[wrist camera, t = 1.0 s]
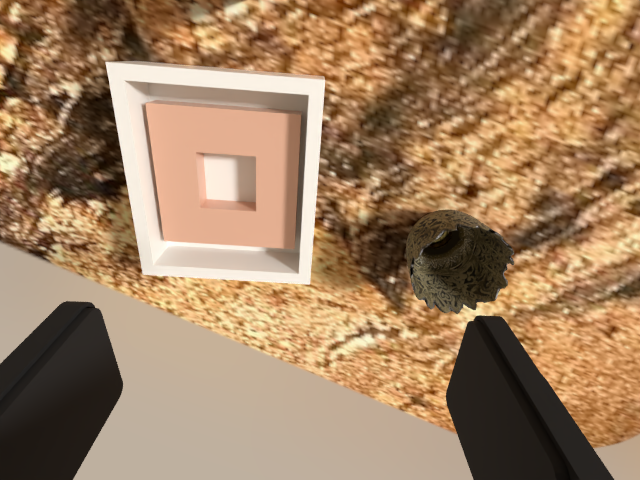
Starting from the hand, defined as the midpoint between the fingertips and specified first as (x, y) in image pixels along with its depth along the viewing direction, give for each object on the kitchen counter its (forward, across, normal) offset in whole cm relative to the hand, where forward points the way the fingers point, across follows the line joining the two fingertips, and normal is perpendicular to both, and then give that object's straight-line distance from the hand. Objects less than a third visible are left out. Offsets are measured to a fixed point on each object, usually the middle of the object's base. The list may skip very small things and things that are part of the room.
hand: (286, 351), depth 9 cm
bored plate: (+23, +6, +3) cm, 24 cm away
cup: (+23, -12, +7) cm, 27 cm away
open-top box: (+23, +6, +3) cm, 24 cm away
